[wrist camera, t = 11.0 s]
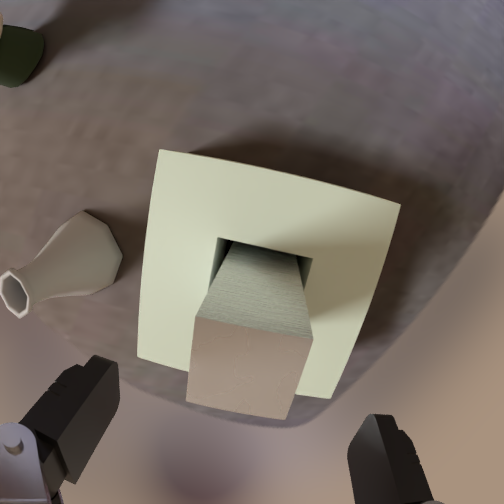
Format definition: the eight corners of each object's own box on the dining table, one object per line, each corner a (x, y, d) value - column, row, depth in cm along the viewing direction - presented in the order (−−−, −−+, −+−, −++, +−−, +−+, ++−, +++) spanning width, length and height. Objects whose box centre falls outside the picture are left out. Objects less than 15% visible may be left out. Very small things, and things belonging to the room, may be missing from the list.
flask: (137, 255, 25) (70, 304, 15) (95, 305, 27) (32, 362, 17) (83, 195, 24) (0, 215, 14) (47, 250, 25) (-26, 286, 16)
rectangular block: (239, 230, 24) (195, 316, 10) (292, 241, 24) (313, 339, 10) (230, 279, 25) (186, 401, 11) (280, 289, 25) (284, 419, 11)
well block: (187, 152, 22) (159, 149, 17) (370, 194, 22) (400, 204, 16) (162, 319, 26) (137, 356, 20) (320, 353, 26) (330, 398, 20)
